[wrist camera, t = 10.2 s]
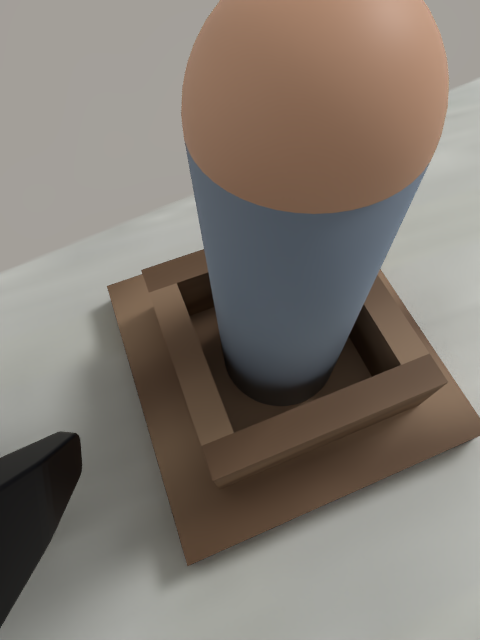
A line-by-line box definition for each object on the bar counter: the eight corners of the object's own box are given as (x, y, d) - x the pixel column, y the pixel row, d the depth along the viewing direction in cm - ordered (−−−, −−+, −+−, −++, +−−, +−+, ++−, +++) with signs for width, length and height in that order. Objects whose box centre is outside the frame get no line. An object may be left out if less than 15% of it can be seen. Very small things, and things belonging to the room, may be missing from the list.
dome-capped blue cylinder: (355, 344, 19) (567, -58, 6) (290, 430, 17) (390, 126, 4) (268, 286, 21) (290, -131, 8) (201, 359, 19) (83, -15, 6)
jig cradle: (475, 437, 18) (532, 412, 14) (192, 563, 16) (173, 572, 13) (335, 222, 24) (350, 164, 20) (114, 298, 22) (84, 249, 18)
